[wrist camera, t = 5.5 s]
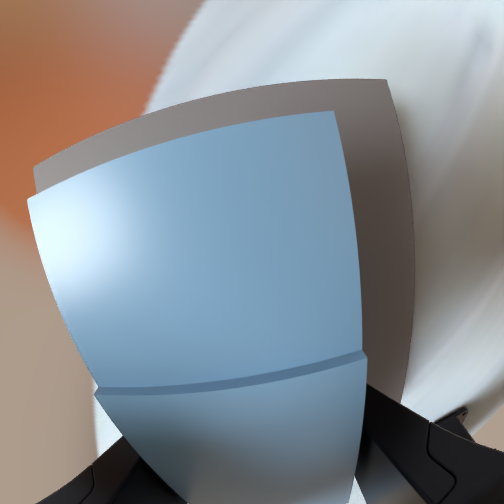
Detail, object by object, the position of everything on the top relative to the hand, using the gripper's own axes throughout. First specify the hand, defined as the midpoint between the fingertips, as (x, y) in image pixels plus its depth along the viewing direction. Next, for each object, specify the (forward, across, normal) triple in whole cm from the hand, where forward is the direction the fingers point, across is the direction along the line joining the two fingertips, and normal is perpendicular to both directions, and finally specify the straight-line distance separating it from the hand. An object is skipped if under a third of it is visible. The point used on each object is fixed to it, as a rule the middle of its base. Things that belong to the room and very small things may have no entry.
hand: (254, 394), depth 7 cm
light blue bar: (+1, 0, 0) cm, 1 cm away
